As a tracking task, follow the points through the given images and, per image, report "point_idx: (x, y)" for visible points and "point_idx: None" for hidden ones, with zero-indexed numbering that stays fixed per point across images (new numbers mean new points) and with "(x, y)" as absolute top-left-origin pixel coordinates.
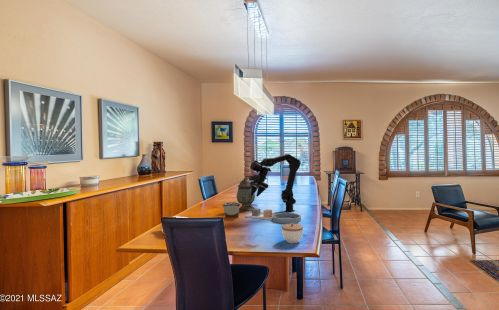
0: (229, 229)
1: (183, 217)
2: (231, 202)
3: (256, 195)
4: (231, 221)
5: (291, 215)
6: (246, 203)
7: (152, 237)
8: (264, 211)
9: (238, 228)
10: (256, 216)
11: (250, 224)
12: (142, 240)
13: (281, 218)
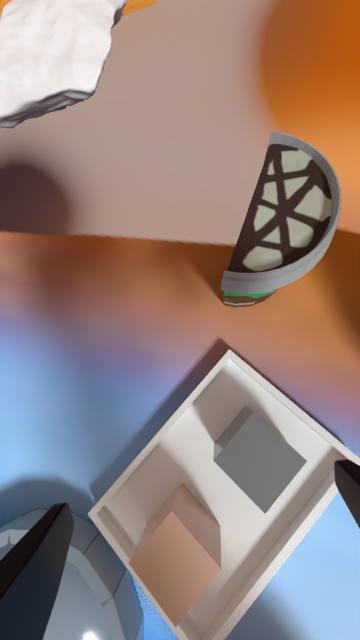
0: (26, 235)
1: (52, 4)
2: (337, 204)
3: (49, 513)
4: (159, 257)
5: None
6: None
7: None
8: (165, 515)
9: (22, 273)
10: (168, 421)
11: (60, 343)
12: None
13: (87, 611)
